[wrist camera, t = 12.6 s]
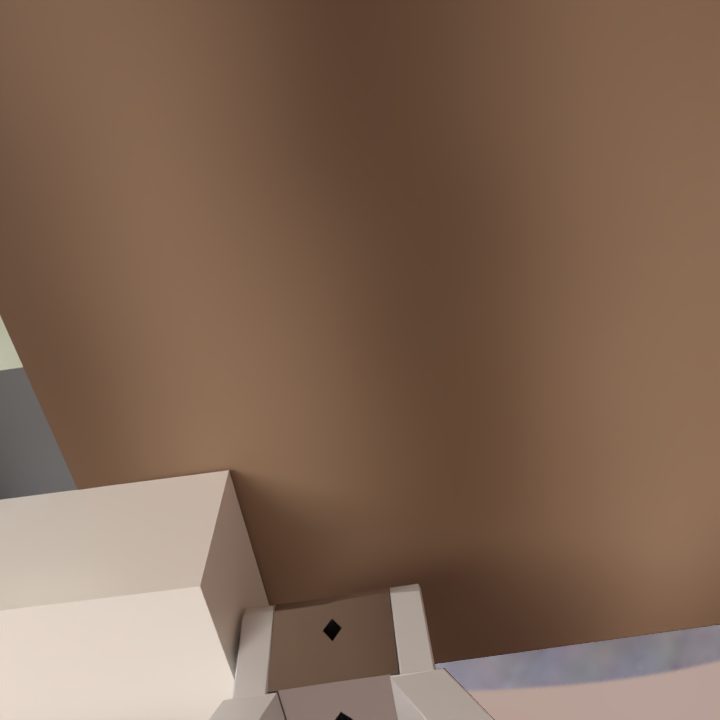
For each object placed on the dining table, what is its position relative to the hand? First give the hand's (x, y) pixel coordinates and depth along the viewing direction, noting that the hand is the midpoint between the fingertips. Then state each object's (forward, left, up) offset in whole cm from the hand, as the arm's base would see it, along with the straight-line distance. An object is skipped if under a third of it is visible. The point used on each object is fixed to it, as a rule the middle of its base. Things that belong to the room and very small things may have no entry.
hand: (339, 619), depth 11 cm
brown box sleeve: (-2, -4, -7) cm, 9 cm away
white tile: (+4, 0, -1) cm, 4 cm away
